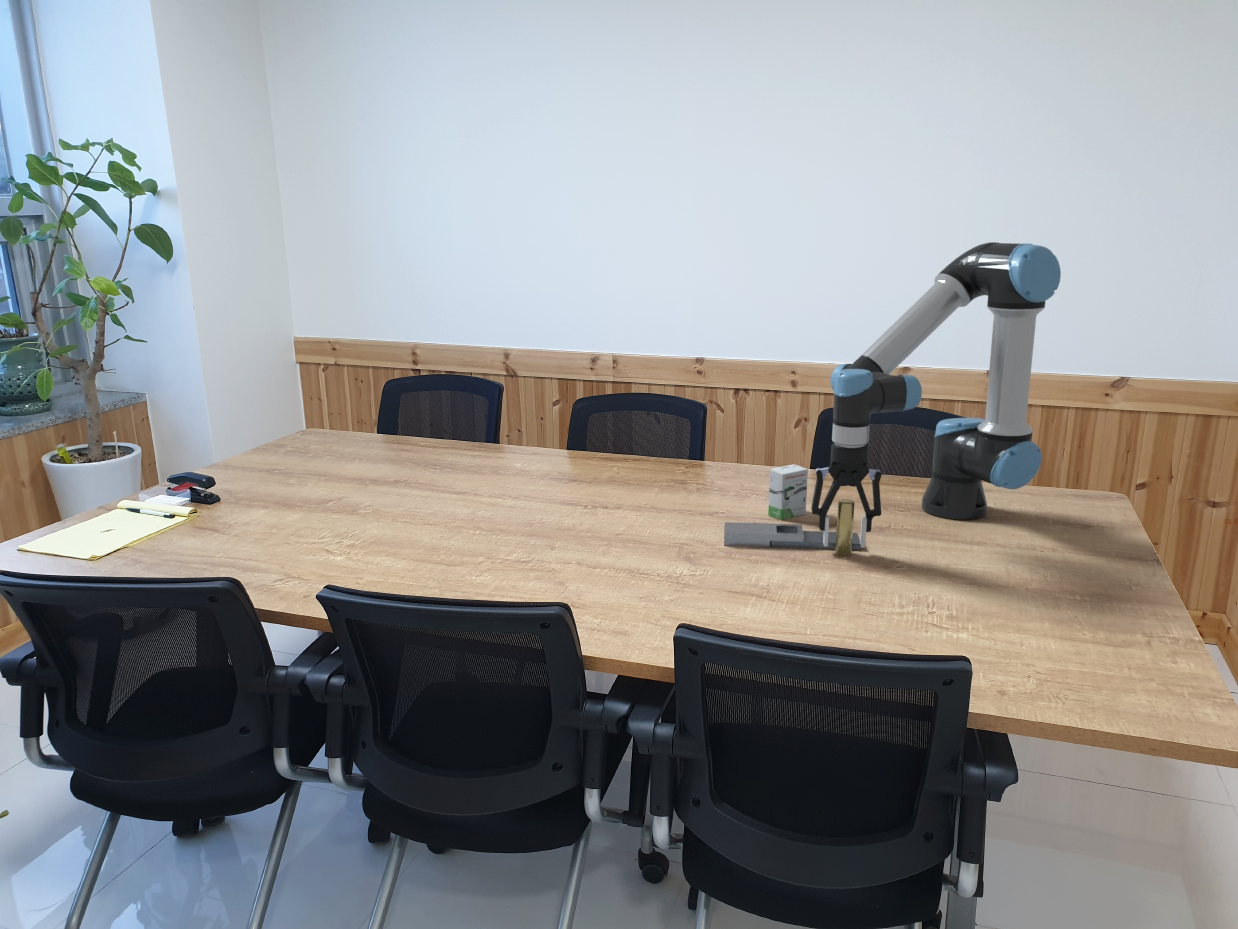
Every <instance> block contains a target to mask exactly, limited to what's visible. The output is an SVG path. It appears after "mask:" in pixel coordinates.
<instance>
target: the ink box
mask: <svg viewBox="0 0 1238 929" xmlns="http://www.w3.org/2000/svg"><path fill="white" fill-rule="evenodd" d="M808 472H809V469H808V468H806V467H803V466H800V465H797V464H793V463H792V464H789V465H788V464H787V465H784V466H779V467H772V468H771V469H770V470H769V487H768V490H769V491H768V508H767V510H768V512H767V514H768V516H769V517H772V518H775V519H777V520H781V521H783V520H787V519H790V518H794V517H798V516H803V515H806V514H807V511H806V510H807V494H808V493H807V492H808V491H807V490H808V475H809V474H808Z"/></svg>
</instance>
